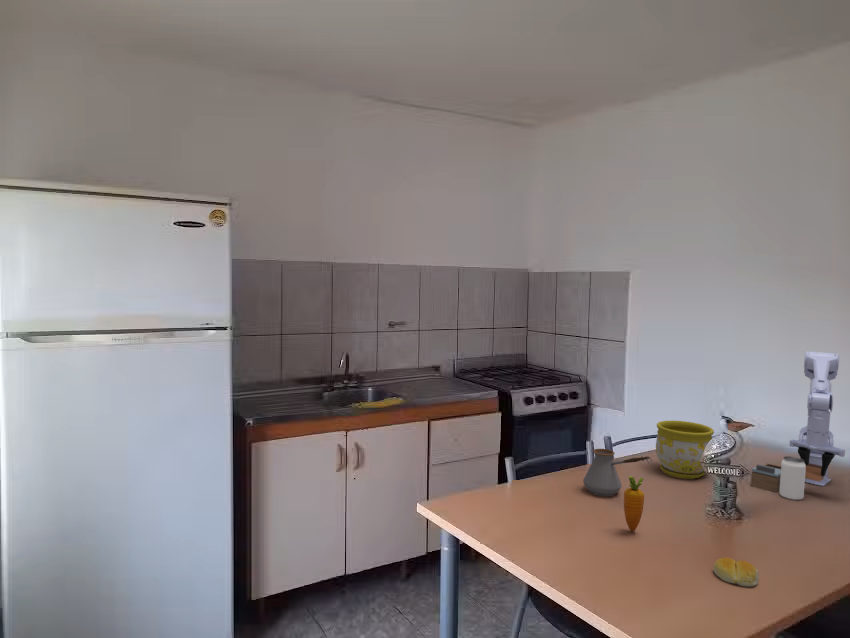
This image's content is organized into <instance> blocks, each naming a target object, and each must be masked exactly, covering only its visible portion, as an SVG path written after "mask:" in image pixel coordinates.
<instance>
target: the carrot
mask: <svg viewBox="0 0 850 638" xmlns="http://www.w3.org/2000/svg"><path fill="white" fill-rule="evenodd" d="M628 480H629V483H630V484H629V483H628V485H629V487H628V488H626V489H625V490H624V493H623V511H624V517H625V521H626V524H627V527H628V529H629V531H630V532H631V533H634V532H635V531H636V529H637V528H638V526H639V524H640V523H641V518H642V516H643V512H644V503H645V493H644V492H643V491H642V490H641V489H639V487H640V486H642V485H643V481H644V477H640V478H639V480H638V482H636V480H635V477H634V476H632V475H629V476H628Z"/></svg>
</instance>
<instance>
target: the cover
mask: <svg viewBox="0 0 850 638" xmlns="http://www.w3.org/2000/svg"><path fill="white" fill-rule="evenodd" d="M764 465H765V464H756V466H754V467H752V468H751V472H758V473H762V474H766V475H770V476H774V477H779V476H780V475H781V469H777V468H773V467H769V466H764Z"/></svg>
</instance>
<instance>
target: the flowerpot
mask: <svg viewBox="0 0 850 638" xmlns="http://www.w3.org/2000/svg"><path fill="white" fill-rule="evenodd" d="M656 428H657V435H656V436H657V437H656V440H655V441H656V442H655V453H656V457H657V459H658V461H659V463H660V465H659V467H660V469H661V470H662V472H663V473H664V474H666V475H668V476H670V477H673V478H677V479H682V478H684V480H695V479H694V478H698V479H700V478H699V477H701V476H702V477H703V476H704V475H706V472H705V473H704V471H705V470H704V468H703V466H702V464H701V463H700V459H701V457H702V454H703V452H704V449H705V447H706V445H707V444H708V442H709V441H710V440H711V439H712V440H713V437H712V436H713V435H714V433H715V432H714V431H715V430H714V429H713V428H712V427H710V426H707V425H706V424H702V423H697V422H691V421H685V420H662V421H659V422H657V423H656ZM702 477H701V478H702Z"/></svg>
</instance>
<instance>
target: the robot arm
mask: <svg viewBox="0 0 850 638" xmlns="http://www.w3.org/2000/svg"><path fill="white" fill-rule="evenodd" d="M803 363H804V364H803V369H804V370H803V373H804V376H805V377H806V378H808V379H810V383H809V393H808V394H807V404H806V405H807V407H806V408H807V422H806V423H807V425H806V426H804V427H801V428H800V430H799V433H798V434H799V435H798V439H793V438H792V439H790V440H789V444H788V445H789V447H792V448H793V447H795V448H797V454H798V456H799V458H801V459H803V460H805V461H804V463H805V465H808V464H809V463H811V464H815V465H820V466H822V470H821V476H824V477H823V480H821V481H820V482H819V481H815V480H811V479H806V478H805V483H808V484H812V485H816V486H820V487H824V486H826V485H827V484H829V482H831V480H832V479H831V478H829V477H828V476H829V466H830V464H831V462H832V460H833V459H834V458H835V456H839V457H841V458H844V457H845V455H846V454H845V453H846V449H843V448H839V447H835V446H834V443H835V442H834V441H835V440H834V434H833V432H832V431H831V430H830V423H831V422H830V421H831V413H832V412H833V407H834V396H833V395H834V394H833V392H832V382H831V381H832V380H835V379H836V378H837V375H838V371H839V365H840V354H839V353H837V352H834V353H833V352H820V351H810V350H806V351H805V352H804V362H803Z"/></svg>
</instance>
